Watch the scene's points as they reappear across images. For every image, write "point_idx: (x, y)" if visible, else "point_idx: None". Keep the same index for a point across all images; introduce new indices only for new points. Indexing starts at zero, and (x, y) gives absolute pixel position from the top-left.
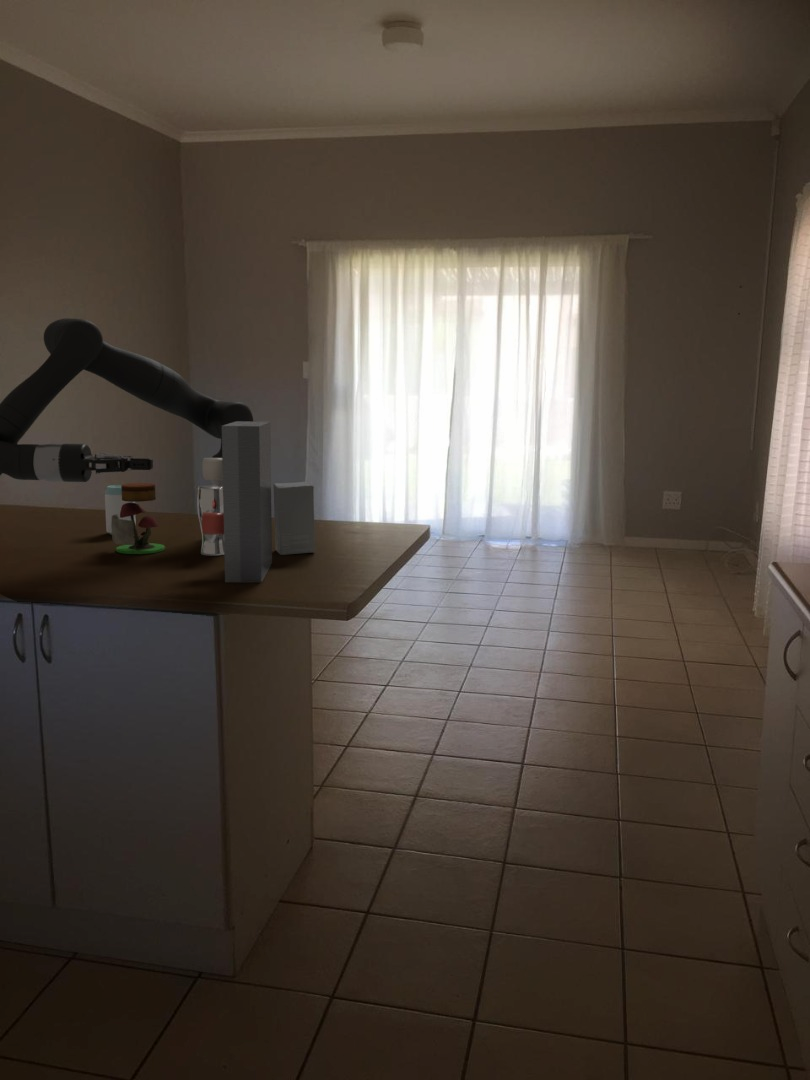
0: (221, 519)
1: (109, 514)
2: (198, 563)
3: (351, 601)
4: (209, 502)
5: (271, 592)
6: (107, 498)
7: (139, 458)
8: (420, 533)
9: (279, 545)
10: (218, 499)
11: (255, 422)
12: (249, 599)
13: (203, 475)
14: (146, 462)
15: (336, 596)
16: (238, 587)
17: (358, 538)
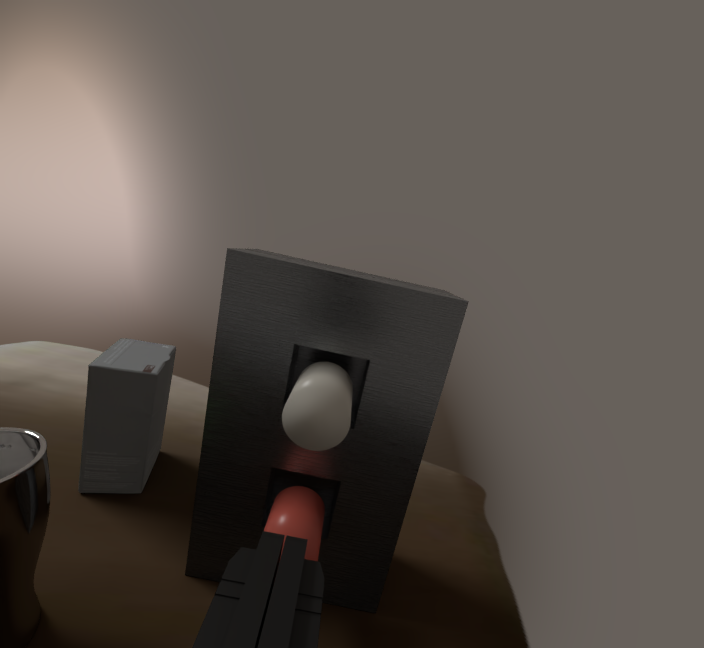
0: (321, 512)
1: None
2: None
3: (452, 471)
4: (27, 512)
5: (434, 540)
6: None
7: (271, 607)
8: (100, 352)
9: (137, 478)
10: (46, 481)
11: (287, 257)
12: (487, 574)
13: (341, 440)
14: (321, 574)
15: (435, 478)
16: (412, 588)
17: (75, 391)
